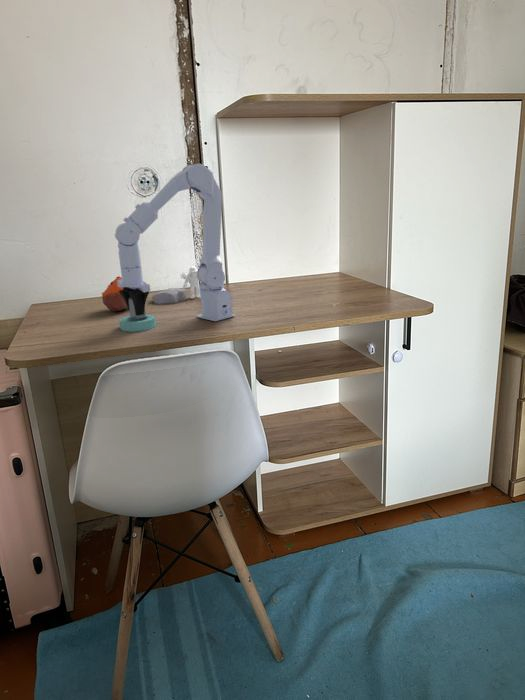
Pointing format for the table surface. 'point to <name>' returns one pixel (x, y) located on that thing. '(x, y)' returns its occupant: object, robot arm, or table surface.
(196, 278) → the blocky character figurine
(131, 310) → the dark metal rectangular bar
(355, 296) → the table surface
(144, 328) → the teal creased ring
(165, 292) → the stone block
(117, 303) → the orange rounded figure
